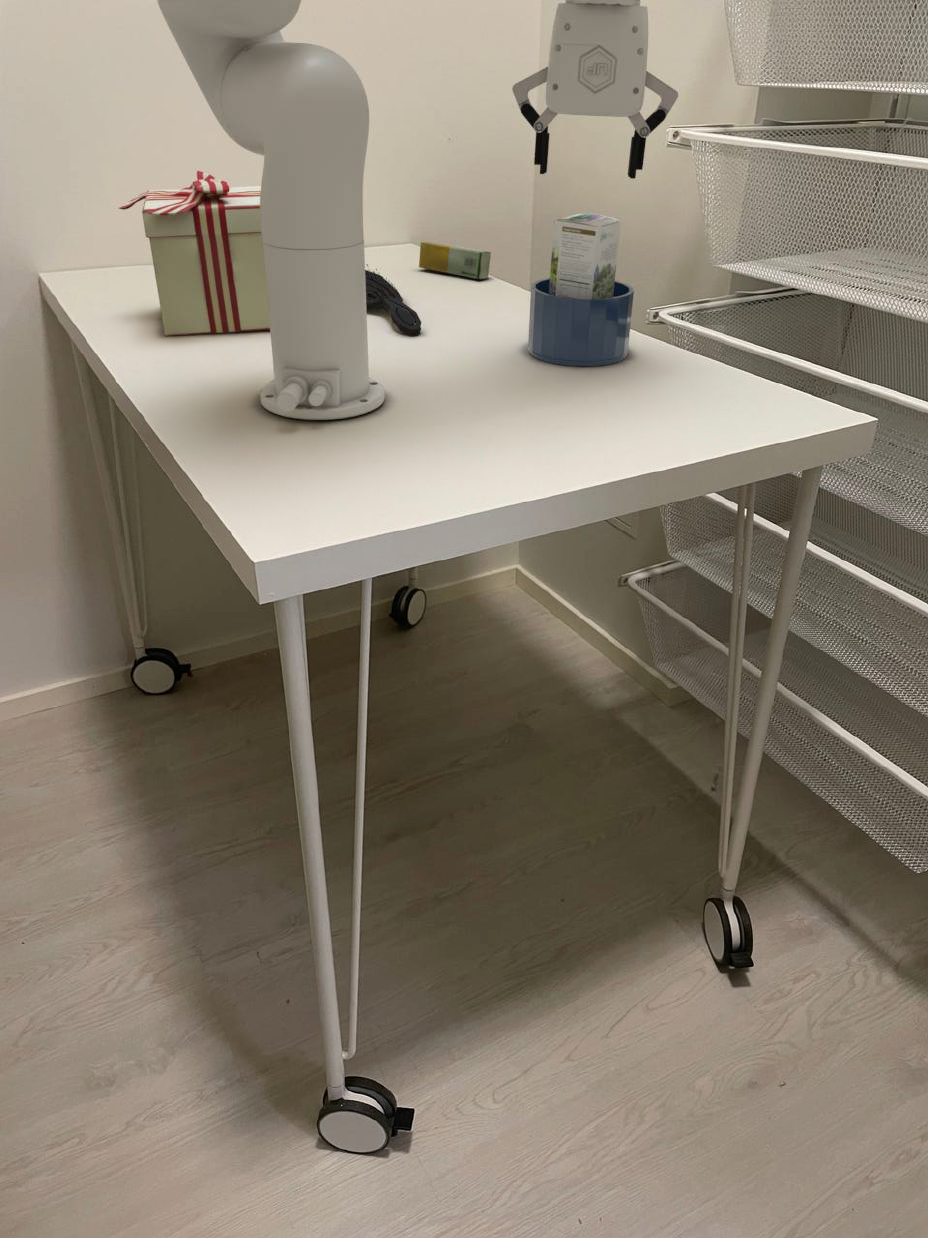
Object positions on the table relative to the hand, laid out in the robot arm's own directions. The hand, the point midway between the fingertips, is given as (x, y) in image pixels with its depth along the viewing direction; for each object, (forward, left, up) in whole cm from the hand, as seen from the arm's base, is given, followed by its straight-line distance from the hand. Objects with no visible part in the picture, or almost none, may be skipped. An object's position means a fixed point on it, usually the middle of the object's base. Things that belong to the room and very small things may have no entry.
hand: (587, 174), depth 107 cm
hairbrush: (+15, +26, -20) cm, 36 cm away
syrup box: (0, 0, -19) cm, 19 cm away
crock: (0, 0, -20) cm, 20 cm away
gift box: (+7, +47, -20) cm, 51 cm away
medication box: (+41, +19, -20) cm, 49 cm away
